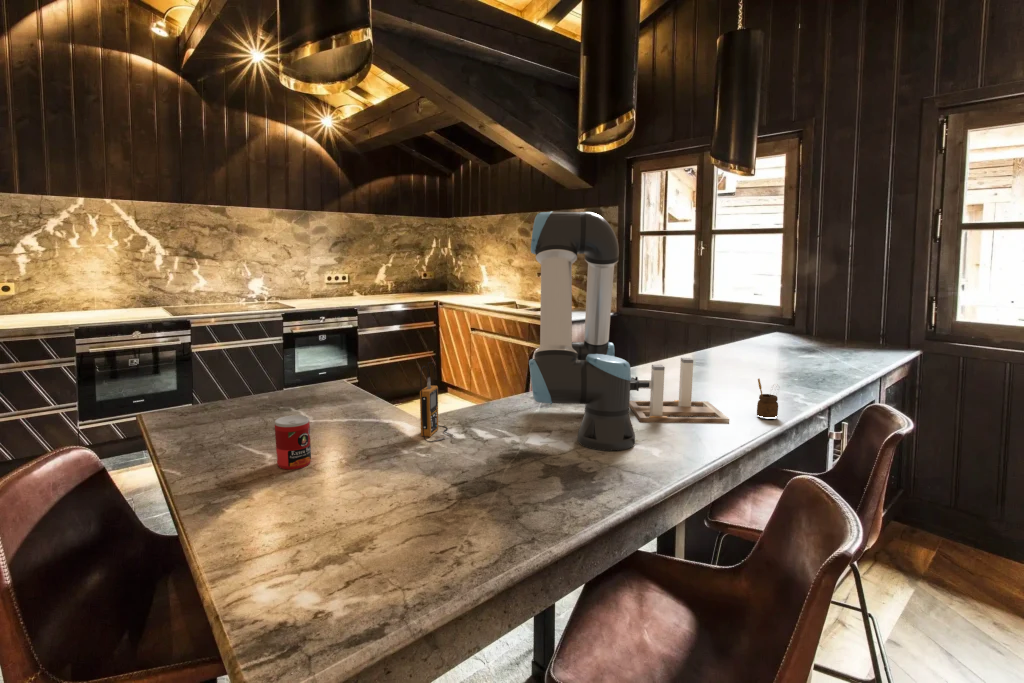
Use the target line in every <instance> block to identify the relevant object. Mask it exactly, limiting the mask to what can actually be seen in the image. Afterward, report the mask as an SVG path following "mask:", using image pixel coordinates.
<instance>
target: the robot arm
mask: <svg viewBox="0 0 1024 683" xmlns="http://www.w3.org/2000/svg"><path fill="white" fill-rule="evenodd" d="M530 253H531V254H532V255H535V260H536V261H537V263H539V264H540V326H539V329H540V332H539V333H540V334H539V336H540V337H539V343H540V344H539V348H538V349H537V350H535V351H534V358H531V359H529V360H528V365H529V372H530V382H531V390H532V396H533V397H532V398H533V400H534V401H535V403H540V404H550V405H552V404H568V405H569V404H574V405H576V404H577V405H585V406H584V407H585V409H584V411H585V412H584V415H583V418H582V421H581V424H580V426H579V429H578V432H577V442H578V443H579V444H580V445H581V446H583V447H585V448H587V449H592V450H593V449H594V450H598V451H607V452H608V451H609V452H610V450H611V451H612V450H617V451H623V450H622V449H625V450H628V449H631V448H632V446H633V445H634V444H636V435H635V431H634V427H633V424H632V420H631V416H630V406H629V405H630V401H631V398H630V396H631V391H637V392H639V391H640V389H647V390H648V389H650V390H651V378H649V379H648V378H647V379H646V378H638V376H635V377H632V376H631V365H630V363H629V362H628V361H627V360H625V359H623V358H621V357H617V356H615V351H616V350H615V345H614V343H613V342H610V341H609V340H610V327H611V326H610V325H611V312H612V302H613V300H612V299H613V289H614V288H613V287H614V286H613V285H614V273H615V265H616V264H617V263H618V262H619V256H620V255H619V254H620V251H619V242H618V238H617V236H616V234H615V231H614V229H613V228H612V226H611V224H610V223H609V222H608V221H607V220H606V219H605V218H604V217H602V216H601V215H600V214H597V213H595V212H592V211H552V210H551V211H547V212H545V211H543V212H537V214H536V215H535V218H534V220H533V226H532V233H531V242H530ZM583 254H584V261H585V262H586V263H587V276H586V277H587V279H586V297H585V298H586V300H585V314H584V315H585V318H584V319H585V320H584V334H583V335H584V336H583V337H584V339H583V341H573V339H572V338H573V324H572V323H573V316H572V315H573V313H572V312H573V306H572V305H573V304H572V303H573V301H572V300H573V292H572V290H573V287H572V285H573V284H572V283H573V280H572V279H573V276H572V274H573V267H572V266H573V264H574V263H575V262H577V260H578V255H583ZM634 446H635V445H634ZM634 446H633V447H634ZM630 447H631V448H630ZM627 448H628V449H627Z"/></svg>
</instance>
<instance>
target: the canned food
mask: <svg viewBox="0 0 1024 683" xmlns="http://www.w3.org/2000/svg"><path fill="white" fill-rule="evenodd" d="M310 425H311V424H310V418H309V417H308V416H306V415H299V414H293V415H292V414H291V415H286V416H281V417H278V418H277V419H275V420H274V436H275V437H274V438H275V451H276V452H275V453H276V463H277V466H278V467H279V468H280V469H283V470H288V471H289V470H298V469H302V468H306V467H308V466H309V465H310V464H311V460H312V448H311V428H310V427H311V426H310Z"/></svg>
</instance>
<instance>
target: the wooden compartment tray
mask: <svg viewBox="0 0 1024 683" xmlns="http://www.w3.org/2000/svg"><path fill="white" fill-rule="evenodd" d="M678 405H679V399H677V400H676V399H674V400H663V414H662V416H650V400H630V405H629V409H630V410H631V411H632V412H633V414H634V415H635V416H636V418H637V419H638V421H639V422H640V423H702V424H703V423H704V424H705V423H709V424H711V423H717V424H722V423H723V424H728V425H730V418H729V417H727V415H726V414H724V413H723V412H722V411H720V409H718V408H717V407H716V406H714V405H713V404H712V403H710V401H705V400H704V401H703V400H702V401H697V400H696V401H693V400H691V407H679V406H678Z"/></svg>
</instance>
